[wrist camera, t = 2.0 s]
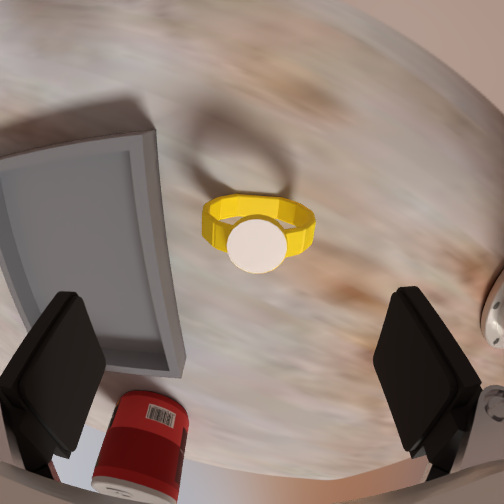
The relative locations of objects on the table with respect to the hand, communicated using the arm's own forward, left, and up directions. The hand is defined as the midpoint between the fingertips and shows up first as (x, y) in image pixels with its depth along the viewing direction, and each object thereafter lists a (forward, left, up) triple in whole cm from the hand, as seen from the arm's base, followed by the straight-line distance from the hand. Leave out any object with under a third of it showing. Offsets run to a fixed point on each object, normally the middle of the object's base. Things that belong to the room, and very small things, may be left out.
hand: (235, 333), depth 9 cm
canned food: (+10, +22, -12) cm, 27 cm away
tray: (+12, +4, -12) cm, 17 cm away
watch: (-1, 0, -12) cm, 12 cm away
